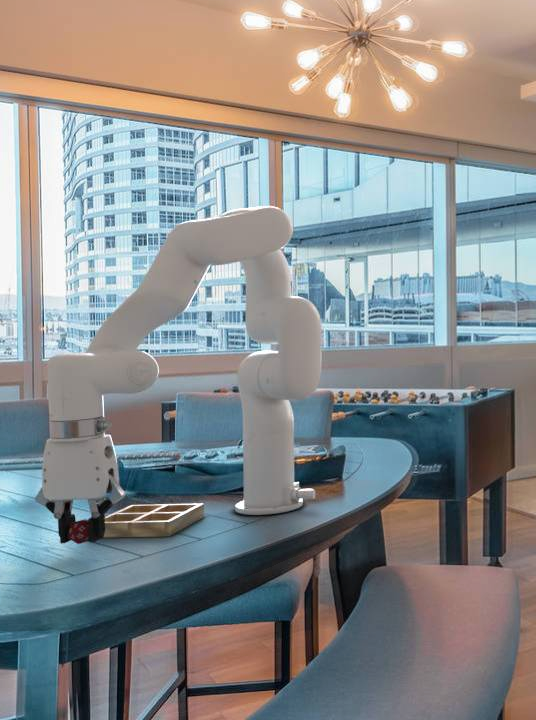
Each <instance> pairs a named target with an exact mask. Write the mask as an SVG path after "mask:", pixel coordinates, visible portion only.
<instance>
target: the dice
mask: <svg viewBox="0 0 536 720" xmlns="http://www.w3.org/2000/svg"><path fill="white" fill-rule="evenodd" d="M67 538H68V539H70V540H71V541H72V542H74V543H75V544H77V545H80V544H85V543H87V542H89V536H88V519H87V518H85V519H81V520H77V521H76V522H72V523H71V524H70V527H69V531H68V535H67Z"/></svg>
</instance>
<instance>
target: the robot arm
mask: <svg viewBox="0 0 536 720" xmlns="http://www.w3.org/2000/svg"><path fill="white" fill-rule="evenodd" d="M293 235H294V225H293V221H292V219H291V217H290V215H288V213H287V212H285V211H284V210H283V209H282V208H279V207H276V206H272V205H268V206H267V205H264V206H255V207H245V208H238V209H237V208H236V209H232V210H229V211H226V212H223V214H221V215H220V216H219V217H213V218H204V219H196V220H195V219H194V220H187V221H184V222H183V221H182V222H181V223H179V224H176V225H175V226H174V227H173V228H172V229H171V231H170V232H169V233H168V235H167V237H166V239H165V240H164V242H163V244H162V246H161V247H160V249H159V250H158V252H157V255H156V256H155V258H154V260H153V261H152V263H151V265H150V267H149V269H148V270H147V272H146V274H145V275H144V277H143V279H142V281H141V282H140V284H139V285H138V287H137V288H136V289H135V291H134V292H132V293H131V295H129V296H128V297H127V298H126V299H125V300H124V301H123V302H122V303H121V304H120V305H119V306H118V307H117V308H116V309H115V310H114V311H113V312H112V313H111V314H110V315H109V316H108V317H107V318H106V320H105V321H103V323H102V324H101V326H100V327H99V328H98V330H97V332H96V333H95V334H94V336H93V338H92V340H91V342H90V343H89V345H88V347H87V348H86V351H85V352H77V353H76V352H75V353H62V354H56V355H52V356H51V357H50V358H48V360H47V363H46V376H47V378H46V379H47V393H48V394H47V397H48V400H47V401H48V415H49V416H48V417H49V418H48V419H49V424H48V425H49V438H48V439H46V442H45V445H44V451H43V456H42V467H41V468H42V469H41V488H40V489H39V490H38V492H37V494H36V496H35V498H34V501H35V502H36V503H38V504H40V505H41V506H43V507H45V508H46V509H47V510H48V511H49V512H51V513H52V515H53V518H54V519H55V520H57V529H58V532H57V533H58V537H59V542H60V543H59V544H67V543H68V542H70V541H72V540H70V539H68V538H67V535H68V531H69V527H70V524H71V523H72V522H76V515H75V513H72V512H73V504H74V501H79V500H80V501H82V500H84V501H85V500H87V502H88V506H89V511H90V516H91V517H89V518H88V519H87V520H88V536H89V541H88V542H89V543H96V542H97V541H100V540H101V539H104V538H103V537H104V533H105V517H106V516H105V515H106V514H107V513H108V512H109V510H110V509H111V508H112V507H113V506H114V505H115V504H116V503H118V502H119V501H121V500H122V499H124V498H125V497H126V492H125V490H124V489H123V488H122V487H121V485H120V475H119V465H118V460H117V454H116V450H115V449H116V448H115V445H114V442H113V439H112V436H111V434H106V432H107V431H108V430H112V428H113V422H112V421H111V420H106V416H105V405H104V395H106V394H122V395H123V394H125V395H132V394H137V393H142V392H143V391H146V390H148V389H149V388H151V387H152V386H153V385H154V384H155V383H156V381H157V380H158V377H159V374H160V373H159V372H160V368H159V364H158V363H157V360H156V359H155V358H154V357H153V356H152V355H151V354H149V353H147V352H145V351H144V350H139V349H138V348H139V346H141V344H142V342H143V341H144V340H145V339H146V338H147V337H148V336H149V335H150V334H151V333H153V332H154V331H155V330H157V329H158V328H159V327H161V326H162V325H164V324H167V323H169V322H170V321H172V320H174V319H176V318H177V317H178V316H179V317H180V315H181V314H184V313H185V312H186V310H188V308H189V306H190V304H191V303H192V301H193V299H194V297H195V295H196V293H197V291H198V289H199V287H200V286H201V283H202V282H203V280H204V278H205V276H206V274H207V273H208V271H209V269H210V267H212V266H225V265H230V264H236V263H240V265H241V267H242V269H243V272H244V278H245V318H244V320H245V330H246V333H247V335H248V337H249V338H250V339H251V340H252V341H253V342H256V343H257V344H258V343H259V344H265V345H277V350H261V351H256V352H253V353H251V354H249V355H247V356H246V357H245V358H244V359H243V360H242V361H241V362H240V364H239V366H238V369H237V374H236V381H237V388H238V393H239V397H240V402H241V412H242V465H243V466H242V467H243V468H242V469H243V471H242V472H243V474H242V475H243V481H242V482H243V500H242V501H241V500H240V501H239V502H237V503H236V504H235V505H234V511H235V512H236V513H238V514H240V515H247V516H265V515H277V514H282V513H287V512H291V511H294V510H297V509H299V508H301V507H302V506H303V505H304V504H303V503H304V500H315V499H316V490H315V489H314V488H301V487H300V482H299V481H295V417H294V411H293V408H292V405H291V402H290V401H303V400H306V399H308V398H310V397H311V396H312V395H313V394H315V392H316V391H317V389H318V387H319V384H320V381H321V376H322V349H323V348H322V346H323V344H322V343H323V342H322V341H323V340H322V339H323V337H322V335H323V334H322V333H323V331H322V330H323V329H322V328H323V327H322V320H321V316H320V312H319V310H318V309H317V307H316V306H315V304H314V303H313V302H312V301H311V300H309V299H308V298H305V297H302V296H295V295H294V296H293V294H292V277H291V268H290V265H289V263H288V260H287V257H286V256H285V255H284V253H283V251H282V250H281V249H283V248H284V247H286V246H287V245H288V244H289V242H290V241H291V240H292V238H293ZM107 494H110V496H109V497H108V498H106V495H107Z"/></svg>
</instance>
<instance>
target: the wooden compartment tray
mask: <svg viewBox="0 0 536 720" xmlns="http://www.w3.org/2000/svg"><path fill="white" fill-rule="evenodd" d="M203 518H205V504H204V503H173V504H172V503H162V504H158V503H157V504H155V503H154V504H131V505H128V506H126V507H124V508H122V509H120V510H117V511H115V512H112V513H110V514H108V515H106V516H105V533H104V537H103V538H102V539H105V538H107V539H108V538H148V537H149V538H153V537H154V538H156V537H157V538H158V537H159V538H161V537H162V538H163V537H171V536H173V535H174V534H176V533H178V532H180V531H182V530H183V529H185V528H187V527H189V526H191V525H192V524H194V523H196V522H197V521H199V520H201V519H203Z"/></svg>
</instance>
